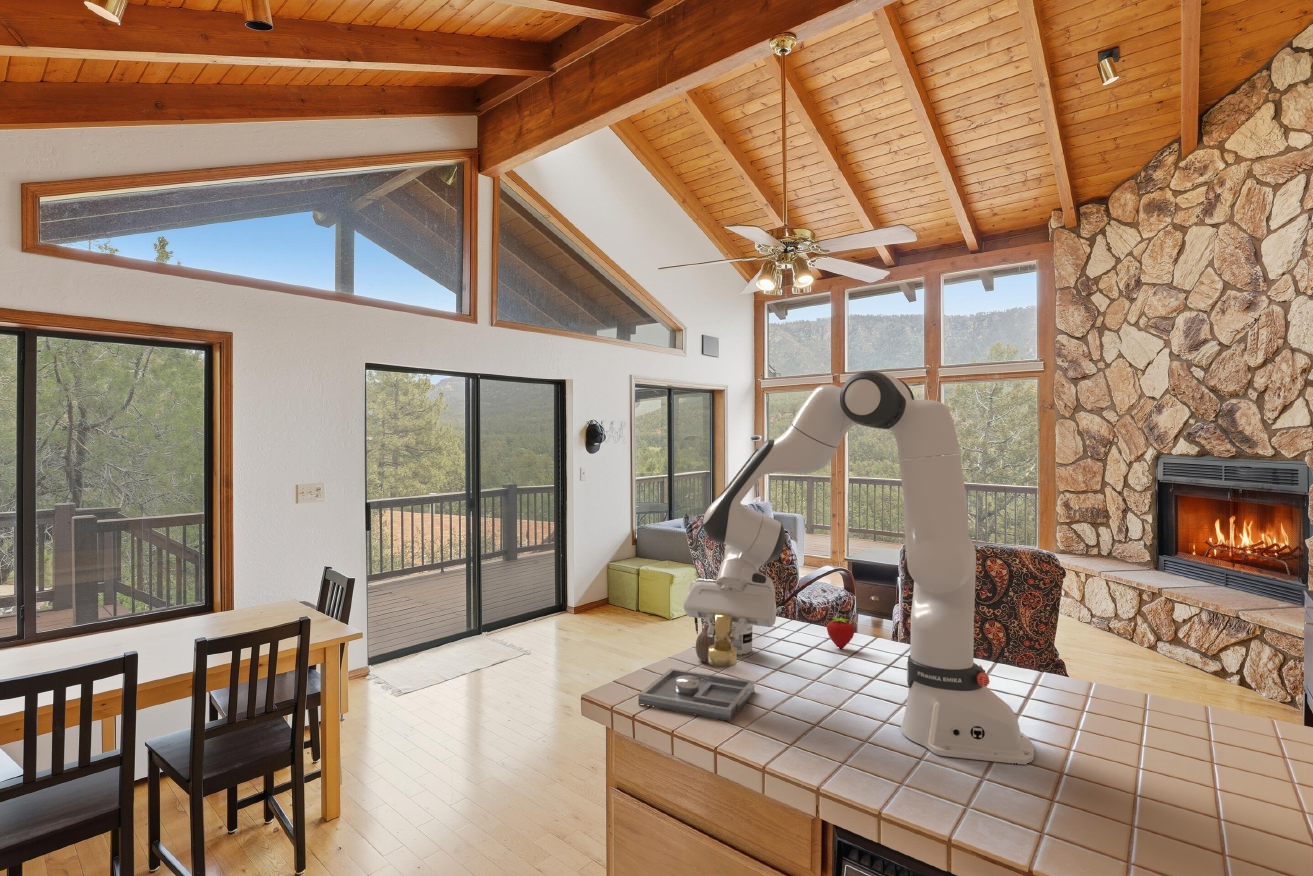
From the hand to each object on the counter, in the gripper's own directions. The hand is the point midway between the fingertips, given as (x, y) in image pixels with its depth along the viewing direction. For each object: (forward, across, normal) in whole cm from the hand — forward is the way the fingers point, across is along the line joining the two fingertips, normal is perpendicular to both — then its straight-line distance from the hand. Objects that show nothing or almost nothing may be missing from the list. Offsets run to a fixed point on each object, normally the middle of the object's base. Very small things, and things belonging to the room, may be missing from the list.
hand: (722, 637), depth 140 cm
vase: (-8, -11, +28) cm, 31 cm away
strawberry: (-26, +18, +46) cm, 55 cm away
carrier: (+9, -5, +10) cm, 15 cm away
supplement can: (-16, -7, +36) cm, 40 cm away
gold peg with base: (+4, 0, +4) cm, 6 cm away
